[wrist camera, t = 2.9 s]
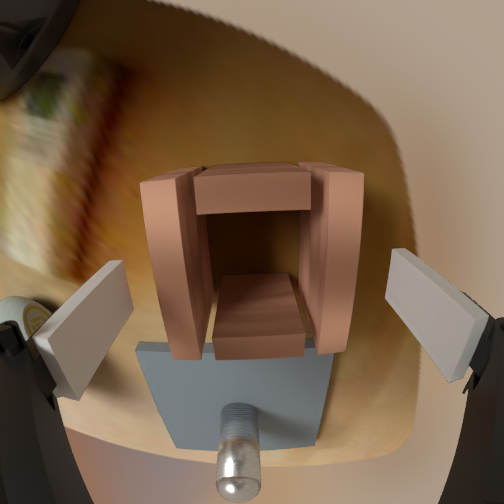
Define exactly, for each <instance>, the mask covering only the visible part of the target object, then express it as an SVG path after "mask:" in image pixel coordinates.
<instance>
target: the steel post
mask: <svg viewBox="0 0 504 504" xmlns="http://www.w3.org/2000/svg"><path fill="white" fill-rule="evenodd" d="M216 488H217V491H218V492H219V494H220V495H221V496H222V497H223V498H224V499H226V500H228V501H231V502H235V503H243V502H247V501H250V500H252V499H253V498H254V497H255V496H257V494H258V493H259V491H260V488H261V468H260V443H259V418H258V410H257V409H256V408H255V407H254V406H252V405H250V404H247V403H240V402H237V403H231V404H228V405H226V406H224V407H223V408H222V410H221V417H220V430H219V443H218V457H217V472H216Z"/></svg>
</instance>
